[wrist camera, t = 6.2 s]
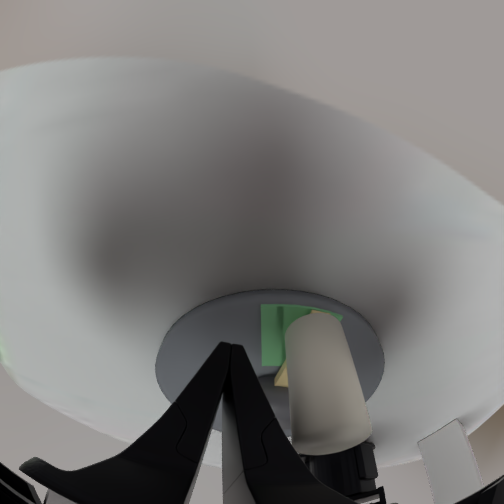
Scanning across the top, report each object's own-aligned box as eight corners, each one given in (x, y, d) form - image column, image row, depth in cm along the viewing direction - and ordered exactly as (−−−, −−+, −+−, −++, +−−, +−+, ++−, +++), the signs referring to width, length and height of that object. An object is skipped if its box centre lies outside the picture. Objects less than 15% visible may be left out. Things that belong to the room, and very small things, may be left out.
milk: (417, 441, 23) (442, 571, 3) (457, 417, 21) (493, 549, 1) (428, 446, 25) (452, 559, 5) (463, 424, 22) (495, 538, 3)
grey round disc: (274, 440, 20) (274, 451, 19) (128, 374, 16) (123, 386, 15) (413, 360, 15) (419, 372, 14) (259, 231, 11) (258, 242, 10)
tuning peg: (289, 414, 16) (293, 492, 10) (230, 406, 15) (222, 487, 10) (361, 312, 12) (403, 420, 6) (280, 294, 11) (289, 420, 6)
